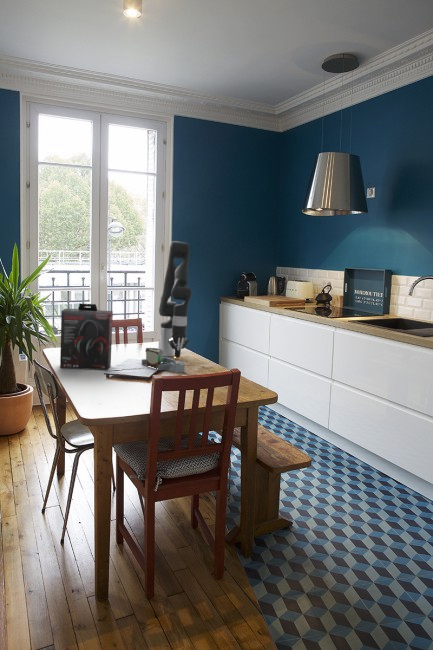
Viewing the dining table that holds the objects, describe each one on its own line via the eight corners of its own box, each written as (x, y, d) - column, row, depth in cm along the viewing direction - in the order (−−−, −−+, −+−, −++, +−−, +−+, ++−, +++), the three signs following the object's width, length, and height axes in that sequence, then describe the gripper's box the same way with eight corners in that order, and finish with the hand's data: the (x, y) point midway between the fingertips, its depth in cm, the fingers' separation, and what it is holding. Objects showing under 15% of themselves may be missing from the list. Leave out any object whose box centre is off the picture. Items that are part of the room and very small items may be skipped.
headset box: (58, 368, 255) (60, 303, 251) (63, 363, 267) (66, 301, 264) (107, 370, 257) (111, 306, 254) (110, 365, 270) (113, 304, 266)
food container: (167, 369, 272) (168, 350, 270) (158, 370, 267) (159, 351, 266) (153, 364, 280) (154, 347, 279) (144, 365, 276) (145, 347, 275)
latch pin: (170, 367, 268) (171, 356, 267) (177, 366, 271) (178, 356, 271) (176, 369, 265) (176, 358, 264) (182, 368, 268) (183, 357, 267)
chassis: (141, 364, 278) (141, 357, 277) (165, 362, 289) (165, 355, 289) (168, 373, 261) (169, 366, 260) (192, 370, 272) (193, 363, 272)
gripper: (174, 325, 258) (172, 359, 260) (193, 325, 267) (191, 357, 269) (165, 323, 263) (163, 356, 266) (184, 323, 273) (182, 354, 275)
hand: (177, 356), depth 267 cm, fingers closed
